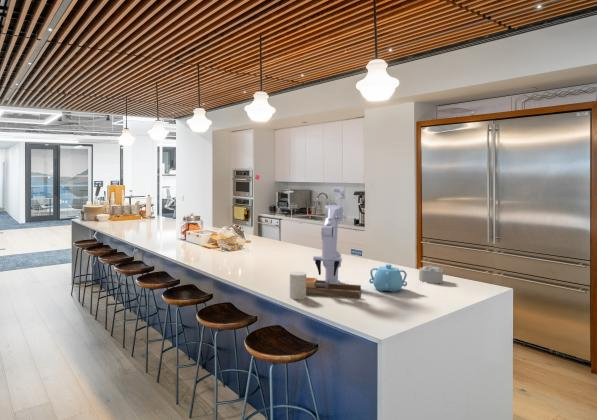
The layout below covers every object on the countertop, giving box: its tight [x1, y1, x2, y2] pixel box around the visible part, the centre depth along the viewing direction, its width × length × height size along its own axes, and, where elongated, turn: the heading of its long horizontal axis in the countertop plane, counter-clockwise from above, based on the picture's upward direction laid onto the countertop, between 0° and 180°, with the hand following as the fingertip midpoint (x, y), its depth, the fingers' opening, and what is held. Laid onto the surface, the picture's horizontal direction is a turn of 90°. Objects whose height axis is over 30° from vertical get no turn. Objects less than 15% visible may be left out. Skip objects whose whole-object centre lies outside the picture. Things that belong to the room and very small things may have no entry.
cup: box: [289, 271, 307, 300], centre depth 210 cm, size 8×8×12 cm
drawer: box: [306, 276, 330, 289], centre depth 221 cm, size 9×16×5 cm, turn 78°
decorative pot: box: [368, 263, 408, 293], centre depth 227 cm, size 16×16×14 cm
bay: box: [306, 283, 362, 299], centre depth 219 cm, size 13×34×7 cm, turn 78°
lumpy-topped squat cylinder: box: [418, 264, 444, 284], centre depth 246 cm, size 10×13×9 cm
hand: (327, 275), depth 218 cm, fingers open, 7 cm apart
